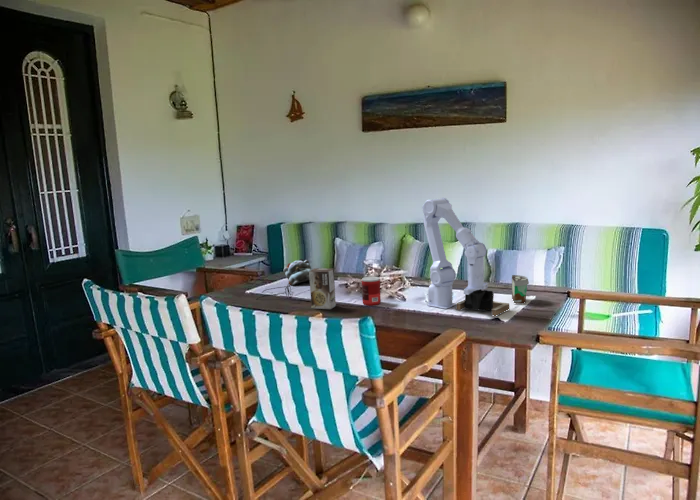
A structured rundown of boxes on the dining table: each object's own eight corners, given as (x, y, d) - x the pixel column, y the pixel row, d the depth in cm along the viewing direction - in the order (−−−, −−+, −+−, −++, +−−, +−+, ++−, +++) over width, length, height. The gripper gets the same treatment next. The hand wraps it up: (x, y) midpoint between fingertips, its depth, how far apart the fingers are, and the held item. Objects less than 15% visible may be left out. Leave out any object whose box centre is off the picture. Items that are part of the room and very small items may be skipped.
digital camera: (463, 305, 206) (464, 288, 208) (465, 308, 211) (467, 291, 213) (490, 307, 202) (491, 289, 204) (492, 310, 207) (493, 293, 209)
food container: (530, 305, 213) (530, 281, 211) (514, 305, 214) (514, 281, 212) (526, 297, 224) (526, 274, 223) (511, 297, 226) (511, 274, 224)
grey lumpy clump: (286, 286, 265) (278, 261, 268) (291, 290, 276) (283, 266, 280) (314, 276, 264) (306, 251, 268) (318, 281, 276) (310, 257, 280)
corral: (456, 309, 210) (456, 303, 210) (471, 303, 218) (471, 297, 218) (495, 316, 199) (495, 309, 198) (509, 310, 207) (509, 303, 206)
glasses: (287, 299, 241) (285, 289, 240) (255, 304, 241) (253, 293, 240) (291, 292, 255) (289, 282, 254) (261, 296, 255) (259, 286, 255)
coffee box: (336, 305, 225) (334, 268, 222) (330, 309, 219) (329, 271, 216) (316, 304, 228) (314, 267, 225) (310, 308, 222) (308, 270, 219)
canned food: (383, 301, 228) (382, 276, 226) (376, 306, 220) (375, 280, 219) (367, 300, 231) (366, 276, 229) (359, 305, 224) (358, 279, 222)
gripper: (475, 279, 195) (475, 314, 197) (494, 272, 205) (494, 306, 207) (458, 277, 200) (459, 312, 202) (478, 270, 210) (478, 303, 212)
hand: (476, 309), depth 205 cm, fingers closed
